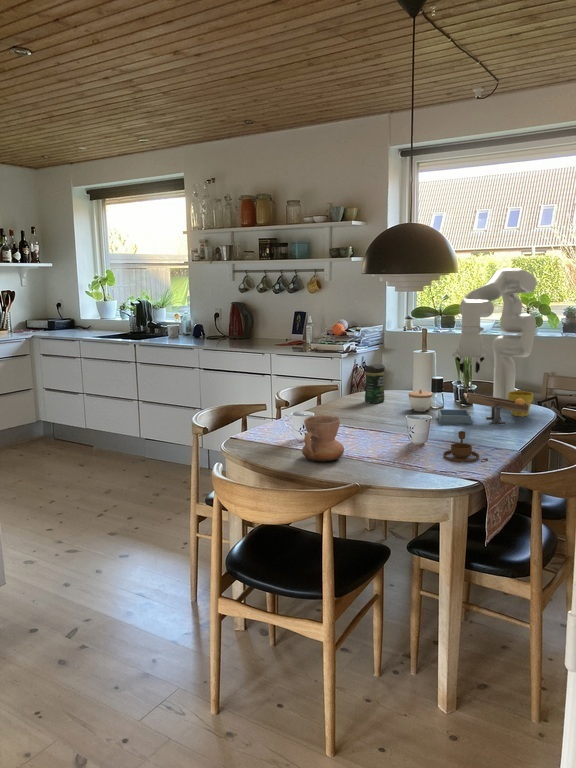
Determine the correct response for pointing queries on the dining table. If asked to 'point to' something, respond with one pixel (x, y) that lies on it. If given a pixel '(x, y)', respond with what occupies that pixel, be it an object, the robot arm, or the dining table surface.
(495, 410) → the pivot stand
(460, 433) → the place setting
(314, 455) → the ceramic jug
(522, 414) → the plant pot
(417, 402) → the lidded jar
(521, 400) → the ball
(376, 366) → the coffee jar
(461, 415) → the grey square tray
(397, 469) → the dining table surface
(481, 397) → the chute
